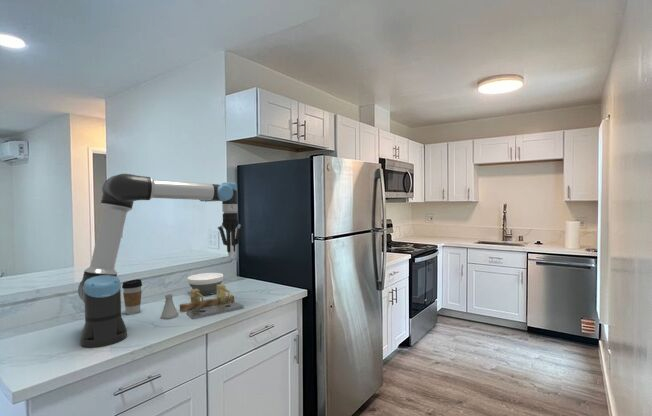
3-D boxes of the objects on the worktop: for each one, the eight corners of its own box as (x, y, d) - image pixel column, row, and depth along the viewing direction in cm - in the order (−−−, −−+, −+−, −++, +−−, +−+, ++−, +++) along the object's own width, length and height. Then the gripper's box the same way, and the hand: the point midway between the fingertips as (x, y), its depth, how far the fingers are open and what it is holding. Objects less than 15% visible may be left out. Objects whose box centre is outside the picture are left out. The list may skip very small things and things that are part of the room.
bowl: (210, 287, 216) (209, 271, 216) (231, 291, 205) (230, 274, 205) (180, 294, 201) (180, 277, 200) (201, 299, 189) (201, 281, 189)
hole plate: (192, 319, 156) (192, 316, 156) (186, 314, 163) (186, 311, 163) (243, 308, 170) (243, 305, 170) (236, 304, 177) (236, 301, 177)
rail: (187, 317, 159) (186, 297, 158) (179, 310, 170) (178, 291, 170) (242, 306, 174) (241, 287, 174) (231, 300, 185) (230, 283, 185)
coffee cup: (145, 311, 169) (144, 280, 168) (126, 316, 162) (125, 283, 162) (139, 308, 174) (138, 278, 174) (120, 312, 168) (119, 281, 168)
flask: (171, 319, 156) (170, 297, 156) (157, 319, 157) (156, 296, 157) (181, 314, 163) (180, 293, 163) (167, 314, 164) (166, 292, 164)
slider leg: (226, 308, 169) (226, 289, 169) (216, 302, 181) (216, 284, 181) (232, 306, 171) (232, 288, 171) (222, 300, 182) (222, 283, 182)
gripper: (220, 213, 175) (221, 260, 176) (245, 212, 183) (246, 257, 183) (215, 213, 181) (216, 259, 182) (239, 212, 189) (240, 256, 189)
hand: (231, 258), depth 182 cm, fingers closed
